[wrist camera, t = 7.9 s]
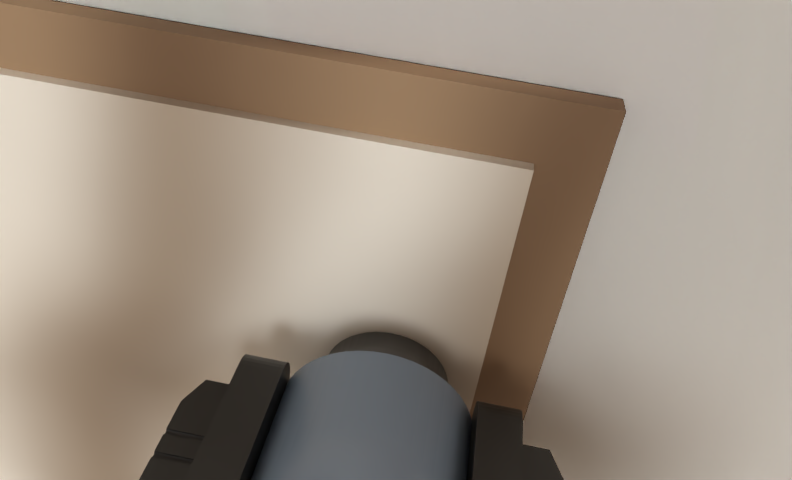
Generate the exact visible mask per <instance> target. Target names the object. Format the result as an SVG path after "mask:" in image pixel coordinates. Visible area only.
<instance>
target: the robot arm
mask: <svg viewBox="0 0 792 480" xmlns="http://www.w3.org/2000/svg"><path fill="white" fill-rule="evenodd" d="M289 379H290V364H289V363H288V362H283V361H278V360H273V359H268V358H263V357H258V356H253V355H248V354H245V355H244V356H243V357H242V359H241V360H240V362H239V364H238V367H237V369H236V371H235V373H234V375H233V377H232V379H231V381H230V383H229V384H225V383H221V382H216V381H211V380H205V381H204V382H203V383H201V384H200V385H199V386H198V387H197V388H196V389H194V390H193V391H192V392H191V393H190V394H188V395H187V396H186V397H185V398H184V399H183V400H181V402H180V404H179V406H178V407H177V409H176V411H175V413H174V415H173V417H172V419H171V421H170V422H169V424H168V426H167V428H166V433H165V434H163V436H162V437H161V439H160V441H159V443H158V445H157V447H156V449H155V451H154V455H153V457H151V458H150V460H149V462H148V464H147V466H146V467H145V469H144V471H143V473H142V475H141V477H140V479H139V480H251V477H252V475H253V472H254V469H255V467H256V464H257V462H258V459H259V456H260V454H261V451H262V448H263V446H264V443H265V441H266V438H267V435H268V433H269V430H270V427H271V425H272V422H273V420H274V417H275V414H276V412H277V409H278V406H279V404H280V401H281V399H282V396H283V393H284V391H285V388H286V385H287V383H288V381H289ZM471 420H472V425H471V436H470V447H469V459H468V470H467V480H563V478H562V475H561V473H560V471H559V469H558V467H557V465H556V463H555V461H554V459H553V456H552V454H551V452H550V450H547V449H542V448H537V447H532V446H527V445H522V434H523V415H522V411H521V410H520V409H515V408H510V407H505V406H500V405H495V404H490V403H485V402H480V401H477V402H476V404H475V407H474V411H473V415H472V418H471Z"/></svg>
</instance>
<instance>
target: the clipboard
mask: <svg viewBox="0 0 792 480" xmlns="http://www.w3.org/2000/svg"><path fill="white" fill-rule="evenodd" d="M625 114H626V109H625V105H624V101H623V99H617V98H611V97H605V96H600V95H594V94H588V93H582V92H577V91H571V90H565V89H559V88H554V87H548V86H542V85H536V84H530V83H525V82H519V81H513V80H507V79H502V78H496V77H490V76H484V75H479V74H473V73H467V72H461V71H455V70H450V69H444V68H438V67H432V66H427V65H421V64H415V63H409V62H404V61H398V60H392V59H386V58H380V57H375V56H369V55H363V54H357V53H352V52H346V51H340V50H334V49H329V48H323V47H317V46H311V45H305V44H300V43H294V42H288V41H282V40H277V39H271V38H265V37H259V36H254V35H248V34H242V33H236V32H231V31H225V30H219V29H213V28H207V27H202V26H196V25H190V24H184V23H179V22H173V21H167V20H161V19H156V18H150V17H144V16H138V15H132V14H127V13H121V12H115V11H109V10H104V9H98V8H92V7H86V6H81V5H75V4H69V3H63V2H57V1H52V0H0V480H139V479H140V477H141V475H142V473H143V471H144V469H145V467H146V466H147V464H148V462H149V460H150V458H151V457H153V455H154V451H155V449H156V447H157V445H158V443H159V441H160V439H161V437H162V436H163V434H165V433H166V428H167V426H168V424H169V422H170V421H171V419H172V417H173V415H174V413H175V411H176V409H177V407H178V406H179V404H180V402H181V400H183V399H184V398H185V397H186V396H187V395H188V394H190V393H191V392H192V391H193V390H194V389H196V388H197V387H198V386H199V385H200V384H201V383H203V382H204V381H205V380H211V381H216V382H221V383H225V384H229V383H230V381H231V379H232V377H233V375H234V373H235V371H236V369H237V367H238V364H239V362H240V360H241V359H242V357H243V356H244V355H245V354H248V355H253V356H258V357H263V358H268V359H273V360H278V361H283V362H288V363H289V364H290V378H291V377H292V376H293V375H294V374H295V372H297V371H298V370H299V369H300V368H301V367H303V366H304V365H306V364H308V363H309V362H311V361H313V360H315V359H318V358H320V357H322V356H326V355H329V353H330V351H331V350H332V349H333V348H334V347H335V346H336V345H337V344H338V343H339V342H341V341H342V340H344V339H346V338H348V337H351V336H353V335H357V334H360V333H366V332H386V333H393V334H397V335H401V336H404V337H407V338H409V339H412V340H414V341H416V342H418V343H419V344H421V345H423V346H424V347H426V348H427V349H428V350H430V351H431V352H432V353H433V354H434V355H435V356H436V357H437V359H438V360H439V361H440V362H441V364H442V366H443V367H444V370H445V372H446V375H447V380H448V383H449V384H450V385H451V386H452V387H453V388H454V389H455V390H456V392H457V393H458V394H459V395H460V396H461V398H462V399H463V401H464V403H465V404H466V406H467V408H468V411H469V413H470V415H471V418H472V415H473V411H474V407H475V404H476V402H477V401H480V402H485V403H490V404H495V405H500V406H505V407H510V408H515V409H520V410H521V411H522V415H523V420H524V417H525V414H526V411H527V408H528V405H529V402H530V399H531V396H532V393H533V390H534V387H535V384H536V381H537V378H538V375H539V372H540V369H541V366H542V363H543V360H544V357H545V354H546V351H547V348H548V345H549V342H550V339H551V336H552V333H553V330H554V327H555V324H556V321H557V318H558V315H559V312H560V309H561V306H562V303H563V300H564V297H565V294H566V291H567V288H568V285H569V282H570V279H571V276H572V273H573V270H574V267H575V264H576V261H577V258H578V255H579V252H580V249H581V246H582V243H583V240H584V237H585V234H586V231H587V228H588V225H589V222H590V219H591V216H592V213H593V210H594V207H595V204H596V201H597V198H598V195H599V192H600V189H601V186H602V183H603V180H604V177H605V174H606V171H607V168H608V165H609V162H610V159H611V156H612V153H613V150H614V147H615V144H616V141H617V138H618V135H619V132H620V129H621V126H622V123H623V120H624V117H625Z"/></svg>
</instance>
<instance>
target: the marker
mask: <svg viewBox="0 0 792 480" xmlns="http://www.w3.org/2000/svg"><path fill="white" fill-rule="evenodd" d="M471 425H472V420H471V415H470V413H469V411H468V408H467V406H466V404H465V403H464V401H463V399H462V398H461V396H460V395H459V394H458V393H457V392H456V390H455V389H454V388H453V387H452V386H451V385H450V384H449V383H448V380H447V375H446V372H445V370H444V367H443V366H442V364H441V362H440V361H439V360H438V359H437V357H436V356H435V355H434V354H433V353H432V352H431V351H430V350H428V349H427V348H426V347H424V346H423V345H421V344H419V343H418V342H416V341H414V340H412V339H409V338H407V337H404V336H401V335H397V334H393V333H386V332H366V333H360V334H357V335H353V336H351V337H348V338H346V339H344V340H342V341H341V342H339V343H338V344H337V345H336V346H335V347H334V348H333V349H332V350H331V351H330V353H329V355H326V356H322V357H320V358H318V359H315V360H313V361H311V362H309V363H308V364H306V365H304V366H303V367H301V368H300V369H299V370H298V371H297V372H295V374H294V375H293V376H292V377H291V378H290V379H289V381H288V383H287V385H286V388H285V391H284V393H283V396H282V399H281V401H280V404H279V406H278V409H277V412H276V414H275V417H274V420H273V422H272V425H271V427H270V430H269V433H268V435H267V438H266V441H265V443H264V446H263V448H262V451H261V454H260V456H259V459H258V462H257V464H256V467H255V469H254V472H253V475H252V477H251V480H467V470H468V459H469V447H470V436H471Z"/></svg>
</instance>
